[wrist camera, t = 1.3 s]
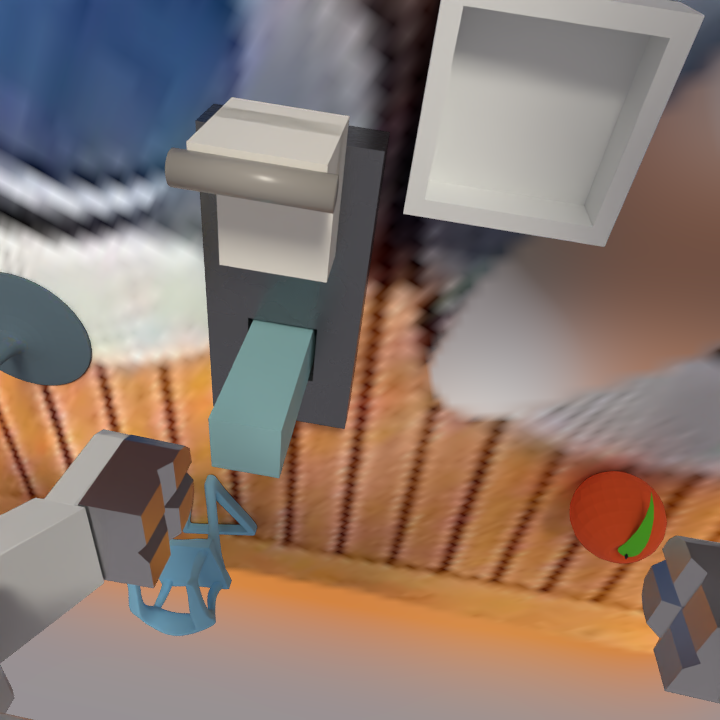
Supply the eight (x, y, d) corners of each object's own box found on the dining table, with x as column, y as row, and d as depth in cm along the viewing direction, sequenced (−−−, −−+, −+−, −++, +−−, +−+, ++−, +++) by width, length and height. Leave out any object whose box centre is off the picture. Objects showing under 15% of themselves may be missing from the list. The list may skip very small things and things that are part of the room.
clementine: (594, 434, 45) (613, 511, 40) (678, 456, 46) (709, 535, 40) (549, 496, 50) (561, 570, 45) (625, 515, 51) (646, 591, 45)
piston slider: (222, 95, 30) (162, 150, 24) (359, 117, 29) (334, 178, 23) (226, 237, 35) (179, 312, 29) (343, 257, 34) (320, 336, 28)
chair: (237, 474, 54) (193, 597, 45) (258, 528, 59) (222, 648, 50) (159, 472, 55) (100, 591, 46) (186, 525, 60) (138, 642, 51)
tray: (446, -35, 28) (445, -25, 25) (680, 2, 27) (705, 15, 25) (407, 187, 35) (403, 213, 32) (592, 218, 34) (604, 247, 32)
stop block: (263, 297, 41) (208, 418, 32) (320, 306, 41) (281, 431, 32) (263, 341, 43) (211, 466, 34) (316, 350, 43) (279, 478, 34)
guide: (213, 103, 33) (195, 120, 31) (389, 132, 33) (384, 151, 30) (225, 380, 46) (213, 406, 44) (350, 401, 46) (344, 428, 44)
